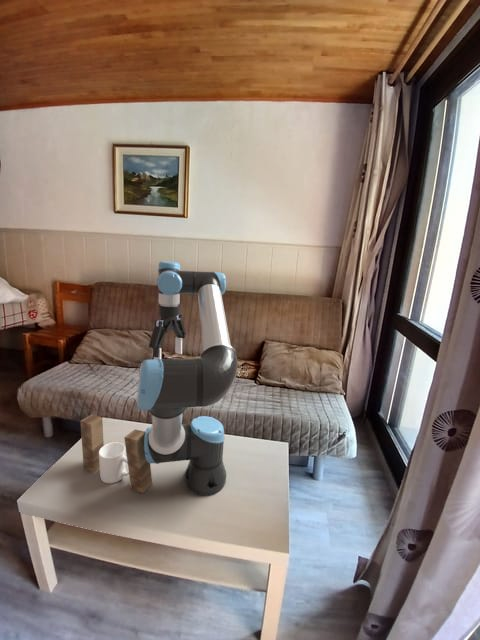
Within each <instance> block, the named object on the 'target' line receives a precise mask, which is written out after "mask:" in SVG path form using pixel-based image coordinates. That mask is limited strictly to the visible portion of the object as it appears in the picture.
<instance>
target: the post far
mask: <svg viewBox="0 0 480 640" xmlns="http://www.w3.org/2000/svg"><path fill="white" fill-rule="evenodd" d="M79 421H80V423H79V424H80V434H81V448H82V449H81V450H82V461H83V469H84V470H86V471H88V472H90V473H92V474H95V473H97V472H98V471H100V464H99V450H100V449H101V448H102V447H103V446H104V445H105V444H104V424H103V417H101V416H99V415H95V414H93V413H92V414H89V415H88V416H86V417H84V418H83V419H81V420H79Z"/></svg>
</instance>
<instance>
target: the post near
mask: <svg viewBox="0 0 480 640" xmlns="http://www.w3.org/2000/svg"><path fill="white" fill-rule="evenodd" d="M145 432H146V430H139V429H133V430H132V431H131V432H129V433H128V434H127V435H126V436H124V437H123V438H124V446H125V455H126V457H127V461H128V464H127V466H128V467H127V468H128V472H129V475H128V476H129V483H130V490H132V491H135V492H137V493H141V494H144V493H145V492H146V491H147V490H148V488H149V487H151V485H152V484H153V478H152V477H153V476H152V469H151V463H148V462H147V460H146V457H145V450H144V437H145Z"/></svg>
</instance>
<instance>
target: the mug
mask: <svg viewBox="0 0 480 640" xmlns="http://www.w3.org/2000/svg"><path fill="white" fill-rule="evenodd" d="M99 464H100V469H99V475H100V477H99V478H100V480H101V481H102V482H103V483H105V484H114V483H117V482H119V481H120V480H123V478H124V477H127V476H129V471H127V469H126V468H127V465H128V461H127V455H126V446H125V444H124V443H121V442H117V441H115V442H114V441H113V442H108V443H107V444H104V446H103V447H102V448H101V449H100V450H99ZM126 464H127V465H126Z"/></svg>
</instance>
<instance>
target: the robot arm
mask: <svg viewBox="0 0 480 640" xmlns="http://www.w3.org/2000/svg"><path fill="white" fill-rule="evenodd" d="M157 273H158V277H157V280H156V281H157V287H158V304H159V305H158V309H157V310H158V315H159V316H160V320H155V321H154V326H153V330H152V334H151V336H150V341H149V343H148V348H150V349H153V352H152V356H153V358H152V359H145V360H143V361H142V362H141V363H140V367H139V376H138V377H139V378H138V385H137V395H136V397H137V399H136V406H137V407H136V408H137V409H138V410H139V411H146V412H148V413H149V414H150V415H151V423H152V424H151V426H149V427H147V428H146V430H145V437H144V450H145V457H146V460H147V462H148V463H150V464H156V465H159V464H162V463H164V464H165V463H172V462H181V461H182V462H183V461H189V462H188V463H187V467H186V469H185V472H184V484H185V487H186V488H187V489H188V491H189V492H191V493H192V494H196V495H199V496H210V495H211V496H212V495H215V494H217V493H219V492H220V491H221V490H222V489H223V488H224V487H225V485H226V482H227V471H226V468H225V464H224V461H223V459H224V457H223V455H224V442H225V441H224V440H225V429H224V425H223V424H222V422H220V420H218V419H216V418H214V417H212V416H206V415H203V416H197V417H196V418H193V419H192V420H191V422H190V424H189V423H188V424H185V423H183V414H184V413H185V412H186V410H187V409H188V408H196V407H197V408H198V407H199V408H200V407H203V408H204V407H209V406H212V405H215V404H216V403H219V401H221V400H222V399H223V398H224V397H225V396H226V395H227V394H228V393H229V391H230V390H231V388H232V387H233V384H234V382H235V380H236V377H237V375H238V365H239V364H238V356H237V351H236V349H235V347H233V346H232V344H231V339H230V333H229V329H228V323H227V318H226V317H227V316H226V313H225V307H224V302H223V295H224V294H225V293H226V288H227V281H226V280H227V279H226V275H225V274H224V273H223V272H217V271H194V270H193V271H192V270H181V265H180V262H178V261H167V260H165V261H159V262H158V268H157ZM183 294H184V295H197V301H198V310H199V319H200V321H199V322H200V327H201V328H200V330H201V340H202V348H203V349H202V352H201V353H200V357H198V358H197V357H193V358H192V357H191V358H162V347H161V345H163V341H164V339H165V336H166V335H167V333H168V332H169V331H171V329H172V331H173V333H174V334H175V336H176V337H175V338H174V339H175V342H174V343H175V345H174V346H175V347H174V349H175V350H174V353H175V354H178V355H183V339H185V338H186V335H187V332H186V329H185V328H186V327H185V325H184V322H183V321H184V320H183V315H182V314H180V301H181V300H180V299H181V298H180V297H181V296H180V295H183Z"/></svg>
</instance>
